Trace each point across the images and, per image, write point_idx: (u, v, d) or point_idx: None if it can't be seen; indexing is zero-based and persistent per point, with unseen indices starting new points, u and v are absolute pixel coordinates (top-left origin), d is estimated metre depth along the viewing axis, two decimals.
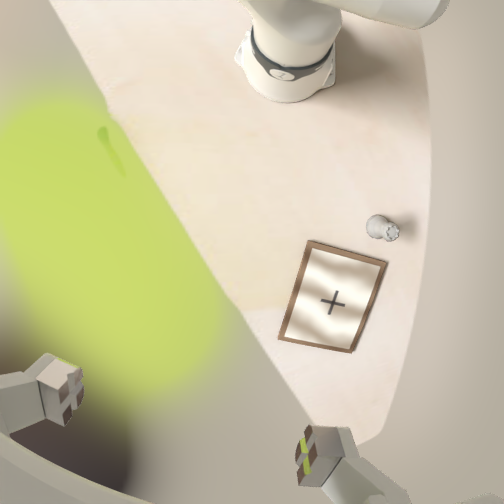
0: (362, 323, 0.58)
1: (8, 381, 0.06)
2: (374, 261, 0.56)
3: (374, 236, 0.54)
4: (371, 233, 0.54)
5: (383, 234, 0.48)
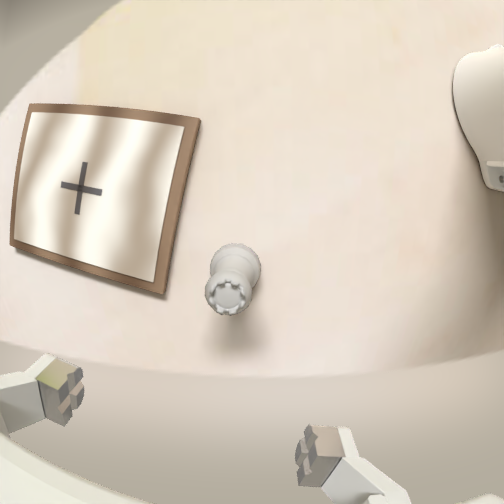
0: (52, 257, 0.27)
1: (8, 381, 0.06)
2: (162, 267, 0.27)
3: (214, 261, 0.26)
4: (220, 254, 0.26)
5: (220, 274, 0.21)
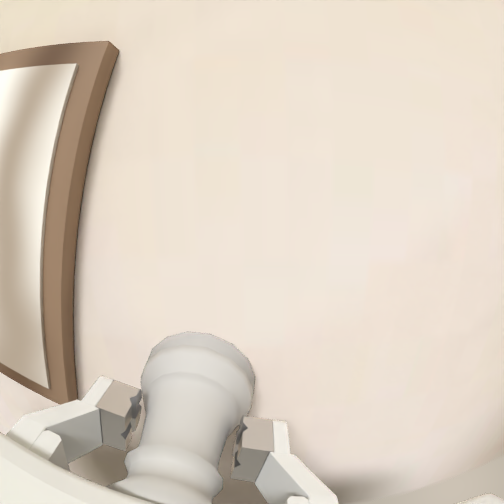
0: None
1: (67, 412, 0.07)
2: (57, 367, 0.11)
3: (145, 379, 0.10)
4: (157, 365, 0.10)
5: (127, 493, 0.05)
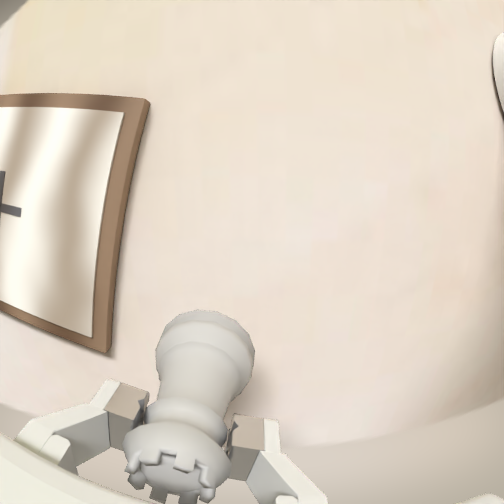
0: None
1: (75, 416, 0.07)
2: (101, 318, 0.18)
3: (160, 350, 0.12)
4: (171, 337, 0.12)
5: (150, 433, 0.07)
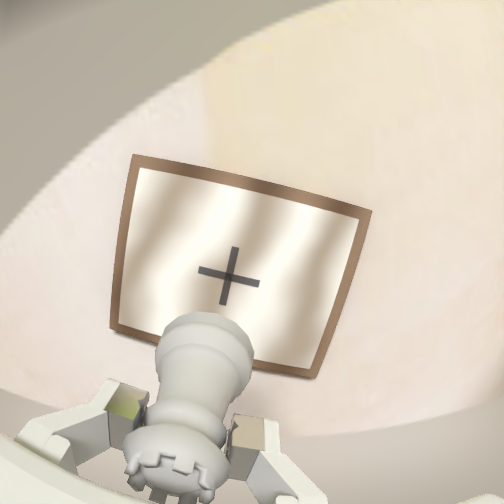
0: None
1: (75, 416, 0.07)
2: (321, 355, 0.27)
3: (160, 351, 0.12)
4: (171, 338, 0.12)
5: (149, 435, 0.07)
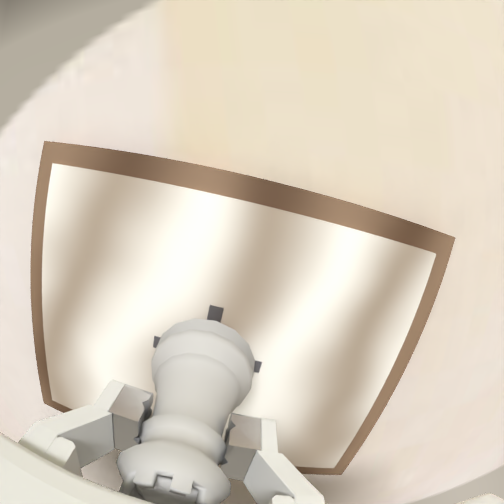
0: None
1: (79, 418, 0.07)
2: (352, 451, 0.15)
3: (156, 360, 0.11)
4: (167, 347, 0.11)
5: (145, 454, 0.06)
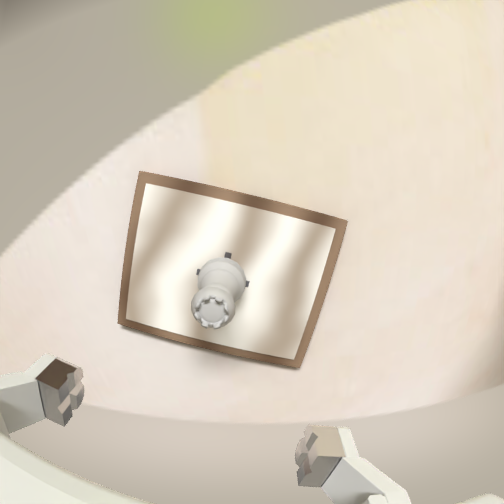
0: (180, 338, 0.31)
1: (8, 381, 0.06)
2: (303, 347, 0.31)
3: (201, 275, 0.27)
4: (207, 268, 0.27)
5: (205, 290, 0.22)
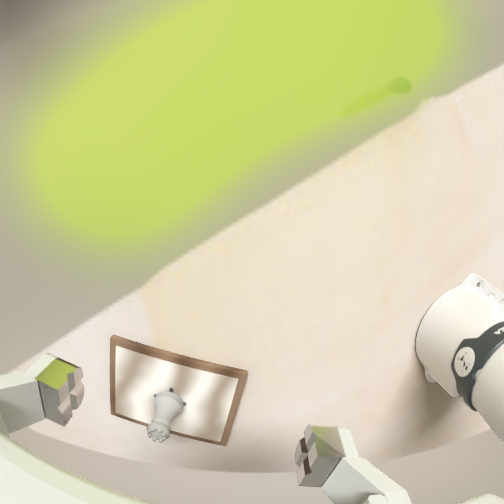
0: None
1: (8, 381, 0.06)
2: (226, 436, 0.43)
3: (155, 402, 0.40)
4: (158, 399, 0.40)
5: (153, 424, 0.34)
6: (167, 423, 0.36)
